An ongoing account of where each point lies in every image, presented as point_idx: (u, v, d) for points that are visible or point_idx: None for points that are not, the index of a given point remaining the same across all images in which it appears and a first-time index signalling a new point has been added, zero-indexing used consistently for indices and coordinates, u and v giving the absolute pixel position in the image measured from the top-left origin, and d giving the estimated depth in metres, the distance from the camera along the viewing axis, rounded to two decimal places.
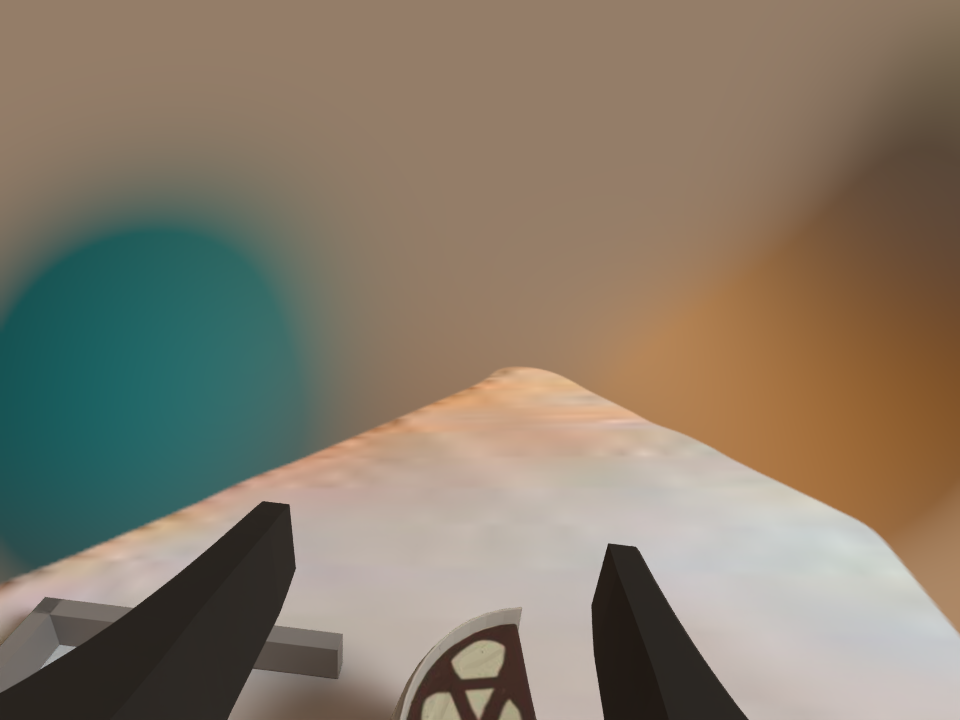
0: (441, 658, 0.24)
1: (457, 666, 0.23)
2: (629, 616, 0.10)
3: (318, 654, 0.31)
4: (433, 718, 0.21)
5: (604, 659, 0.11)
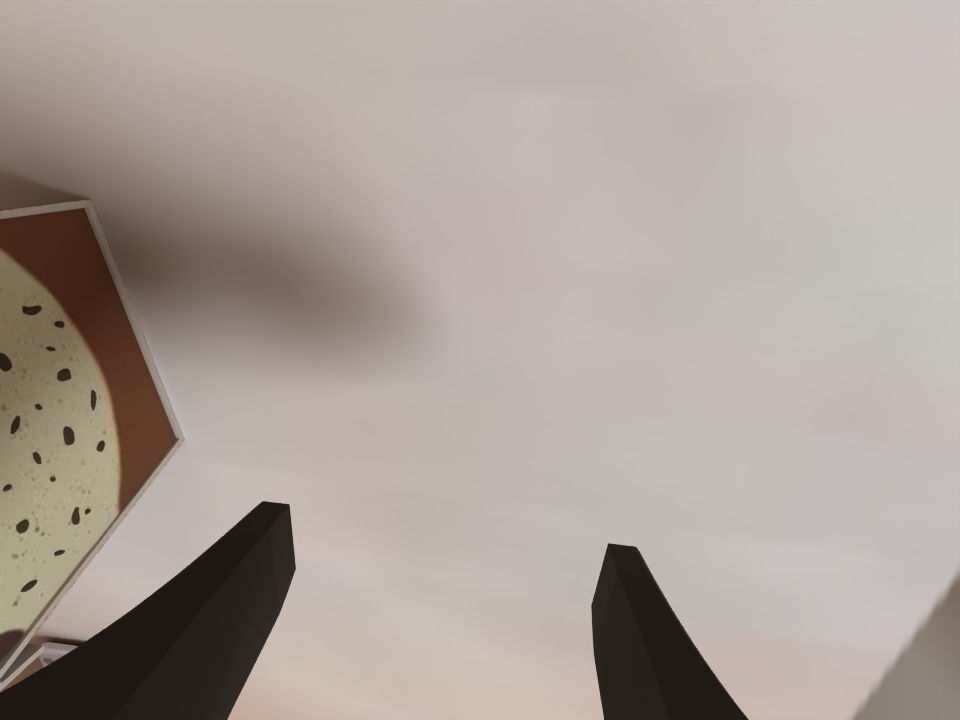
0: None
1: None
2: (629, 616, 0.10)
3: None
4: None
5: (604, 659, 0.11)
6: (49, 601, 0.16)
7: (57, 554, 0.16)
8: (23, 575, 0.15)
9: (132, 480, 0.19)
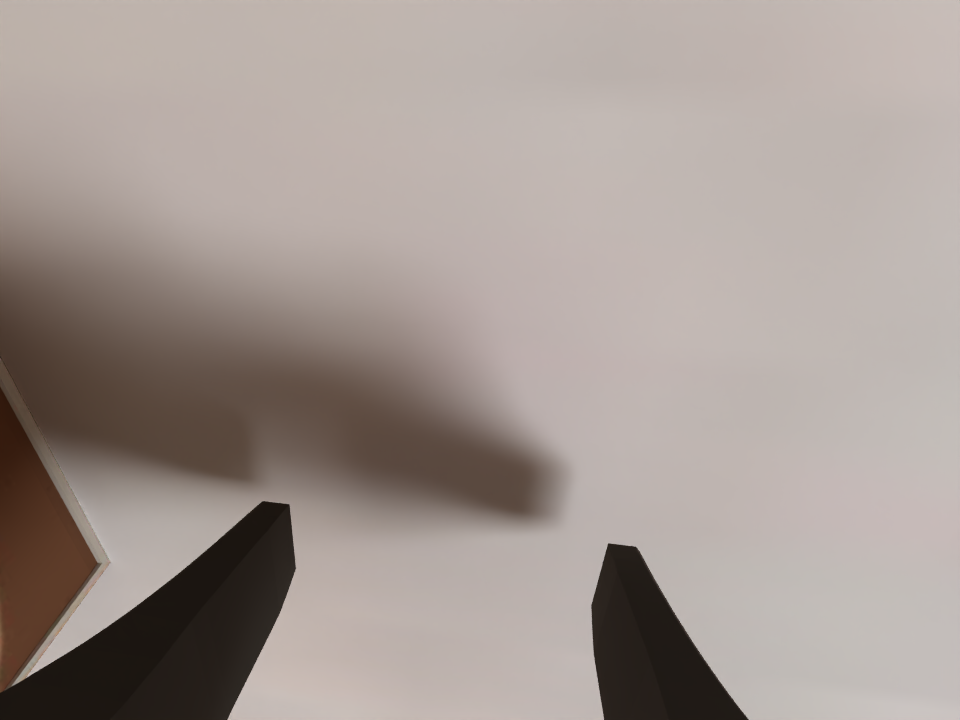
0: None
1: None
2: (629, 616, 0.10)
3: None
4: None
5: (604, 659, 0.11)
6: None
7: None
8: None
9: (22, 644, 0.14)
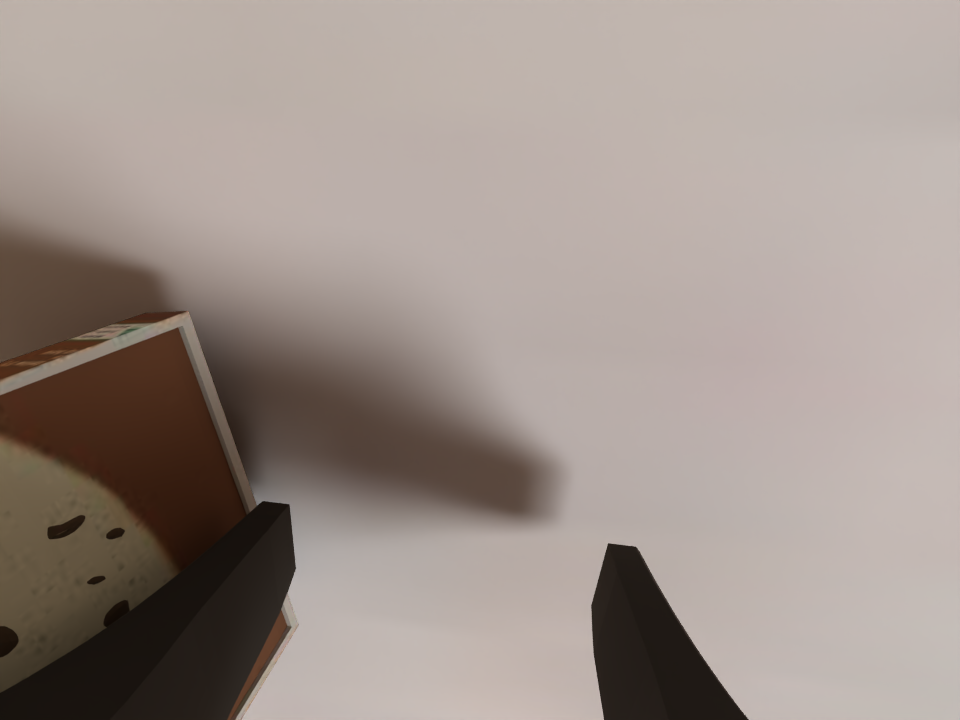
0: None
1: None
2: (629, 616, 0.10)
3: None
4: None
5: (604, 659, 0.11)
6: None
7: None
8: None
9: None
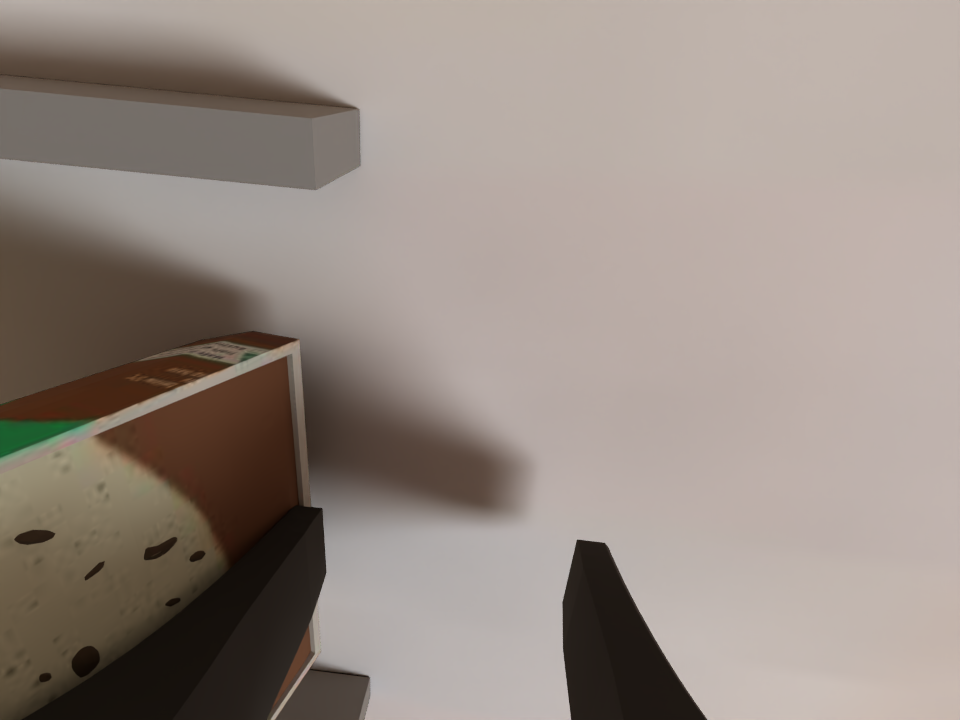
0: None
1: None
2: (592, 611, 0.10)
3: None
4: None
5: (571, 655, 0.11)
6: None
7: None
8: None
9: None
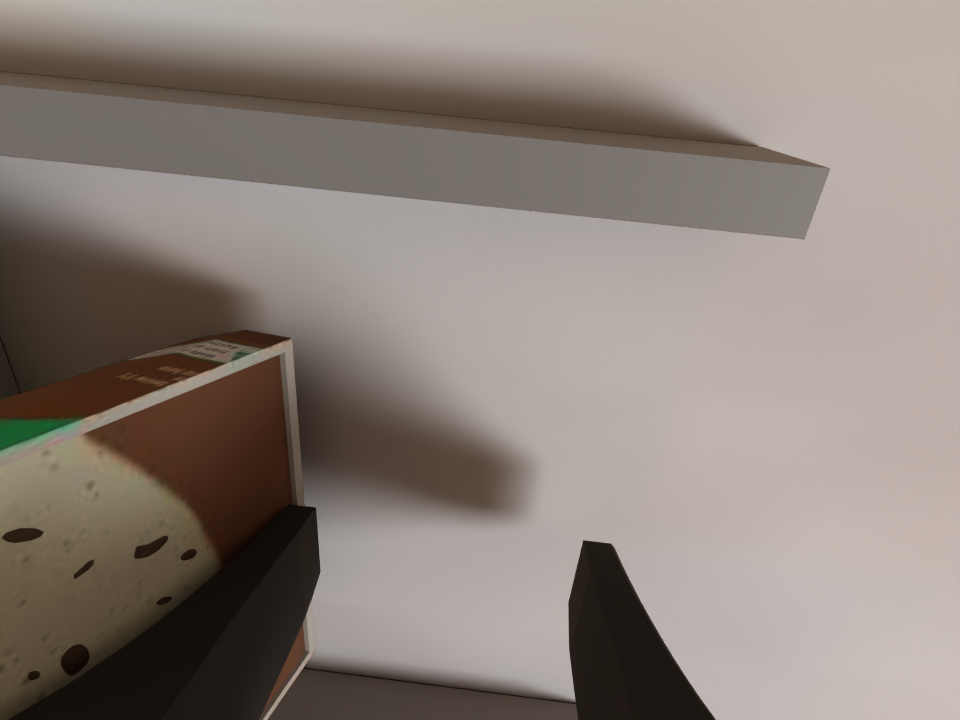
0: None
1: None
2: (599, 612, 0.10)
3: None
4: None
5: (578, 656, 0.11)
6: None
7: None
8: None
9: None
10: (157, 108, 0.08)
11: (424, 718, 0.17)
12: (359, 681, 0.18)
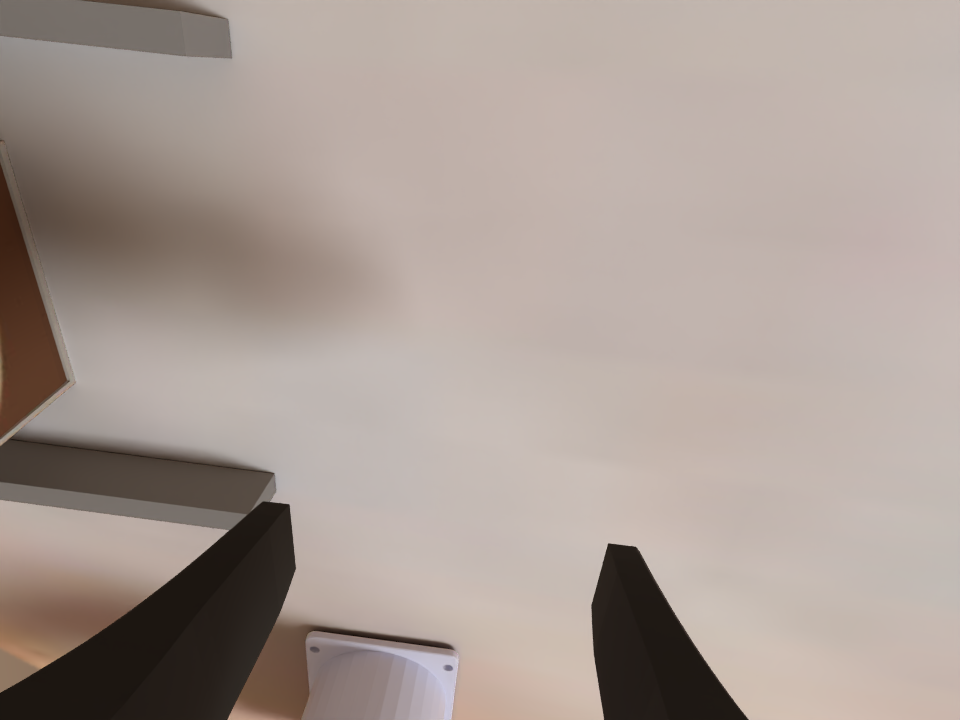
0: None
1: None
2: (629, 616, 0.10)
3: None
4: None
5: (604, 659, 0.11)
6: None
7: None
8: None
9: (12, 413, 0.20)
10: None
11: (141, 474, 0.23)
12: (103, 454, 0.24)
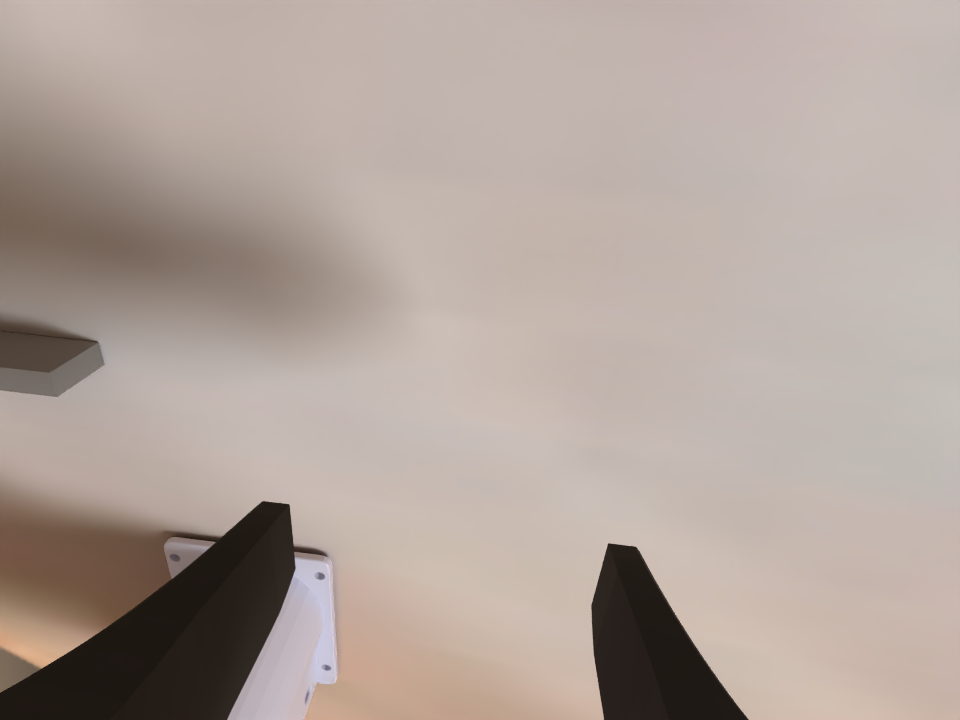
0: None
1: None
2: (629, 616, 0.10)
3: None
4: None
5: (604, 659, 0.11)
6: None
7: None
8: None
9: None
10: None
11: None
12: None
